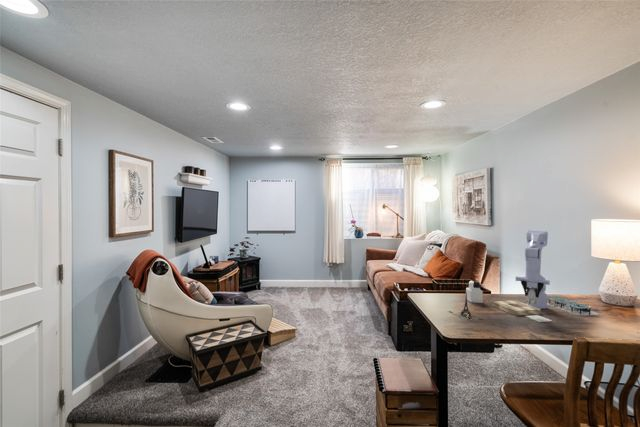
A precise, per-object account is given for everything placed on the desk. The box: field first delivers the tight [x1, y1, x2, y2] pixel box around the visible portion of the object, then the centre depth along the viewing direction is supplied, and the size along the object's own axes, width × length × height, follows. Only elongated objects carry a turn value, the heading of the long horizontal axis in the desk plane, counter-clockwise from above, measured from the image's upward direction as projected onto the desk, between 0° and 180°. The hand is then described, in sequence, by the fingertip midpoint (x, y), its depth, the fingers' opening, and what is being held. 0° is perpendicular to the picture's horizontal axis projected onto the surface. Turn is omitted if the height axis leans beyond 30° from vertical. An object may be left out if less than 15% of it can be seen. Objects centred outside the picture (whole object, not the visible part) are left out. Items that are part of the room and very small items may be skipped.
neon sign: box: [547, 297, 611, 317], centre depth 172 cm, size 21×4×29 cm
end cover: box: [525, 287, 537, 304], centre depth 158 cm, size 4×4×8 cm
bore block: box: [491, 299, 541, 316], centre depth 167 cm, size 16×16×2 cm
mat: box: [524, 314, 553, 323], centre depth 154 cm, size 8×8×1 cm
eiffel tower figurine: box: [447, 290, 472, 320], centre depth 157 cm, size 15×10×13 cm
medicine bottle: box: [465, 280, 484, 304], centre depth 182 cm, size 7×7×12 cm
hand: (531, 296), depth 157 cm, fingers closed on end cover, 4 cm apart
